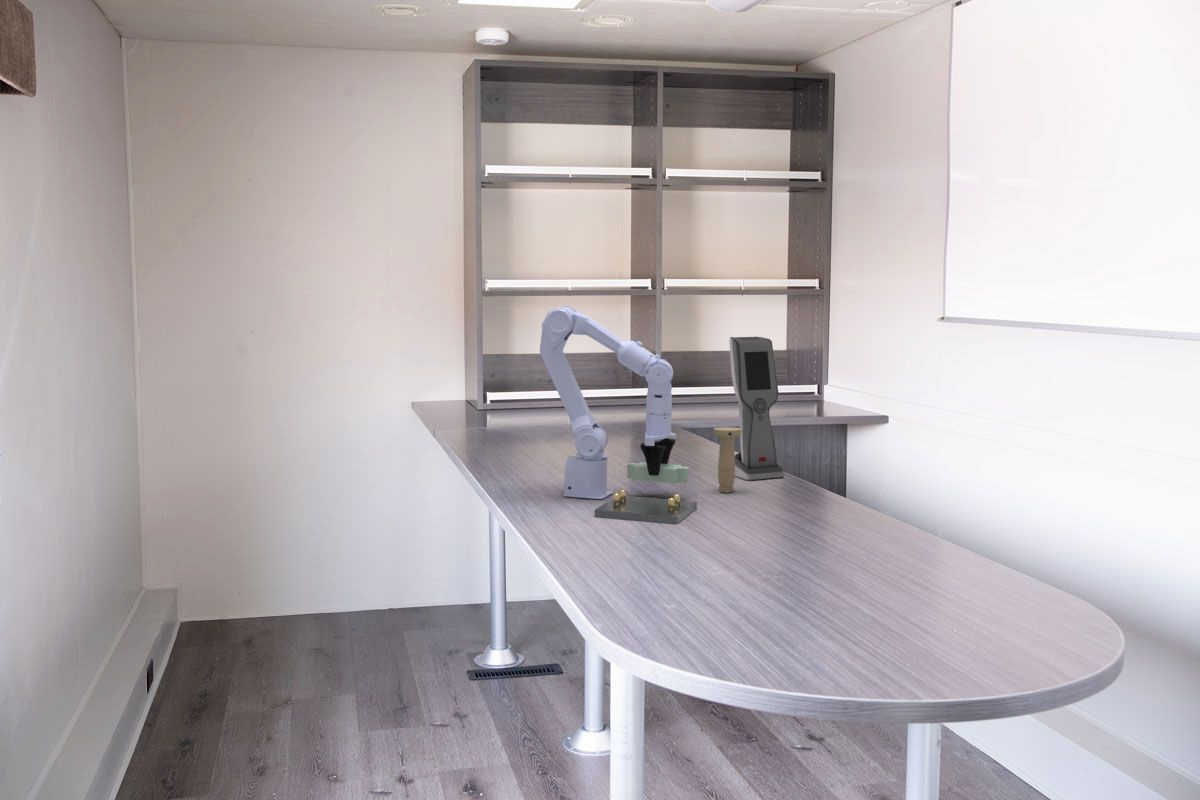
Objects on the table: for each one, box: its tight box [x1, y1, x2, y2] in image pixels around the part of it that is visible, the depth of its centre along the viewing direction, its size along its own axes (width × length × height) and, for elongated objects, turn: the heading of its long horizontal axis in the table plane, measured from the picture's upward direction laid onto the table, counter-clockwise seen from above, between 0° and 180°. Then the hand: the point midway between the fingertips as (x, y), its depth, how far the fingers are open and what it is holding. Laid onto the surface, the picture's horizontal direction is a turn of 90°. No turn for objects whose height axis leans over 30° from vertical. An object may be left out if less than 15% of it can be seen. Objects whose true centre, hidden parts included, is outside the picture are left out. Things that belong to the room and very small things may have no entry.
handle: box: [713, 426, 741, 494], centre depth 258 cm, size 5×6×15 cm
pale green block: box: [626, 461, 690, 484], centre depth 250 cm, size 14×6×3 cm, turn 71°
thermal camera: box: [728, 336, 785, 481], centre depth 278 cm, size 12×13×35 cm
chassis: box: [594, 489, 698, 525], centre depth 236 cm, size 18×16×4 cm
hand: (657, 472), depth 250 cm, fingers closed on pale green block, 6 cm apart
